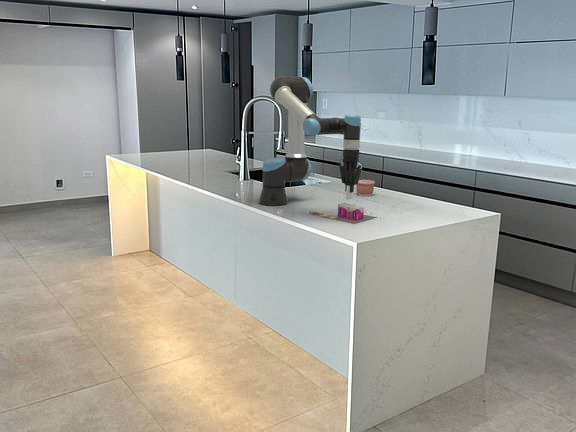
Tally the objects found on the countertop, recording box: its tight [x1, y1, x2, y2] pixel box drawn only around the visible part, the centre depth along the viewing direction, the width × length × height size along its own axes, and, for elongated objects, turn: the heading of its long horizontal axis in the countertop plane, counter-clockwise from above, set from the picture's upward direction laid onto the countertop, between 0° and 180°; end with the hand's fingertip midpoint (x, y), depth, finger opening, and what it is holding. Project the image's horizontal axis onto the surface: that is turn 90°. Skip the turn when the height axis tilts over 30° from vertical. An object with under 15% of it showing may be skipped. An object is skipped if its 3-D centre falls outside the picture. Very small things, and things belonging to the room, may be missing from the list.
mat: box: [332, 214, 378, 225], centre depth 261 cm, size 13×18×1 cm
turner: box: [308, 210, 338, 220], centre depth 264 cm, size 16×3×1 cm, turn 48°
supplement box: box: [337, 202, 365, 220], centre depth 261 cm, size 6×6×12 cm
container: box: [355, 179, 376, 197], centre depth 318 cm, size 10×10×8 cm
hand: (349, 198), depth 261 cm, fingers closed
